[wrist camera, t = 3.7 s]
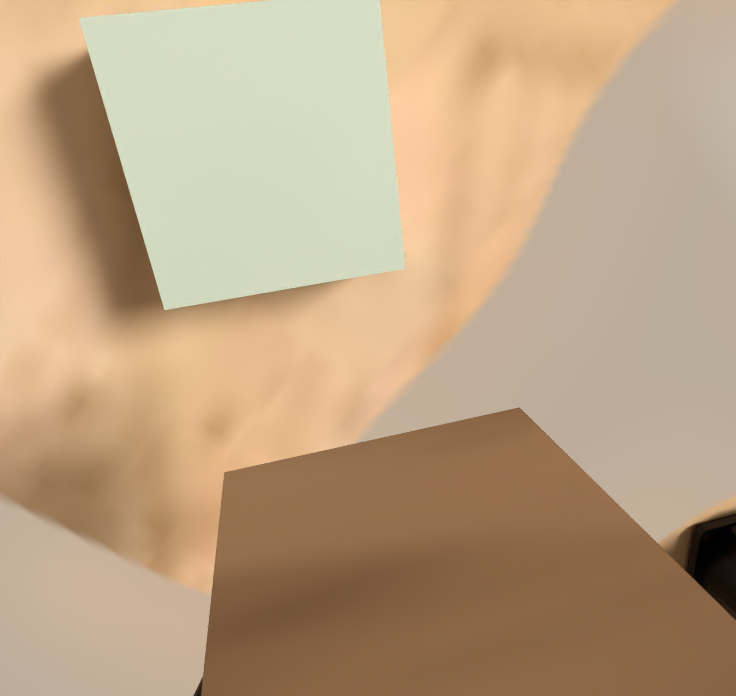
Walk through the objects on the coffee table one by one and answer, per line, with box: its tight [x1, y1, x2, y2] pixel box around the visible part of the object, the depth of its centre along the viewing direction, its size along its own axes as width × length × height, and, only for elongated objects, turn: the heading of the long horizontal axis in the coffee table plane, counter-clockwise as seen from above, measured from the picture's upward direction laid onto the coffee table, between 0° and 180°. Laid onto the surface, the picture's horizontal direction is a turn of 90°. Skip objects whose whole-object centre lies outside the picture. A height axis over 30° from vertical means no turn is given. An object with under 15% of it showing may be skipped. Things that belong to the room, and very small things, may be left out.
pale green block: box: [79, 0, 405, 310], centre depth 14 cm, size 7×7×2 cm
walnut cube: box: [201, 408, 736, 696], centre depth 7 cm, size 5×5×5 cm
